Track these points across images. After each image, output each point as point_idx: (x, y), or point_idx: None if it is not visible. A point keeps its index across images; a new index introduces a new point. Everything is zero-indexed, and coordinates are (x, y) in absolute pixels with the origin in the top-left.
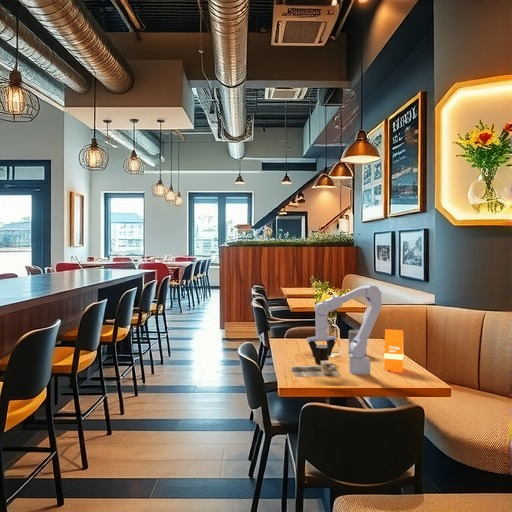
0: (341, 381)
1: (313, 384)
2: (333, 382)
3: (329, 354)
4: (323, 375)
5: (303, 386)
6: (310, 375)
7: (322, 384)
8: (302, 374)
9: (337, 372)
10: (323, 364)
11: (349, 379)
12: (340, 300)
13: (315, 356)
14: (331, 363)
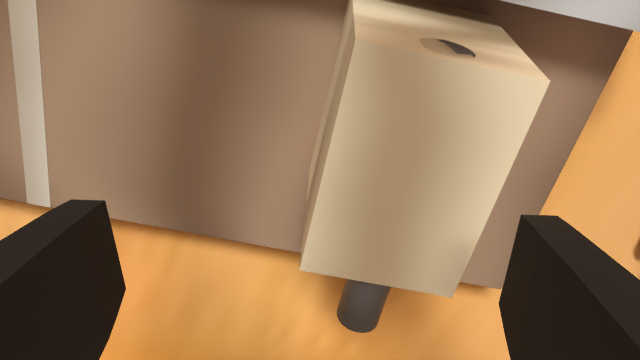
0: (435, 319)
1: (114, 326)
2: (337, 324)
3: (508, 343)
4: (287, 217)
5: None
6: (111, 176)
7: (203, 345)
8: (1, 103)
9: (557, 143)
10: (301, 262)
11: None
12: None
13: (111, 303)
14: (451, 292)
